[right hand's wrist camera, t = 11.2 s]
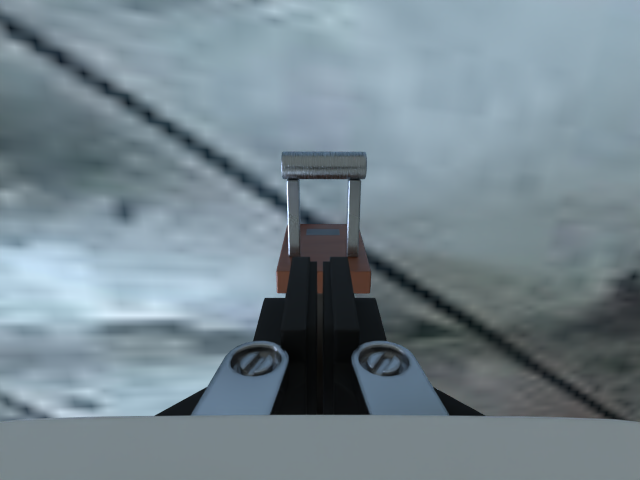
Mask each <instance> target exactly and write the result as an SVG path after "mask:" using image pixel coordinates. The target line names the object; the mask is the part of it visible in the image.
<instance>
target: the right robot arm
mask: <svg viewBox="0 0 640 480" xmlns="http://www.w3.org/2000/svg"><path fill="white" fill-rule="evenodd" d="M0 480H640V422H637V421H627V420H616V419H594V418H566V417H526V416H485V415H483V414H481V413H479V412H478V411H476V410H474V409H472V408H470V407H468V406H467V405H465V404H463V403H461V402H459V401H458V400H456V399H454V398H452V397H450V396H448V395H447V394H445V393H443V392H441V391H439V390H437V389H436V388H434V387H432V385H431V383H430V382H429V380H428V378H427V376H426V375H425V373H424V371H423V370H422V368H421V366H420V365H419V363H418V361H417V360H416V358H415V356H414V355H413V354H412V353H411V352H410V351H409V350H408V349H406V348H405V347H403V346H401V345H399V344H396V343H393V342H388V341H387V340H386V336H385V332H384V328H383V325H382V321H381V317H380V313H379V309H378V305H377V302H376V299H375V298H354V292H353V286H352V279H351V273H350V267H349V261H348V257H330V261H323V415H317V261H310V257H292V261H291V267H290V273H289V279H288V286H287V292H286V298H265V299H264V302H263V305H262V309H261V313H260V317H259V321H258V325H257V328H256V332H255V336H254V340H253V341H252V342H247V343H244V344H241V345H239V346H237V347H235V348H234V349H232V350H231V351H230V352H229V353H228V354H227V355H226V356H225V358H224V360H223V361H222V363H221V365H220V366H219V368H218V370H217V371H216V373H215V375H214V376H213V378H212V380H211V382H210V383H209V385H208V387H206V388H204V389H203V390H201V391H199V392H197V393H195V394H193V395H192V396H190V397H188V398H186V399H184V400H182V401H181V402H179V403H177V404H175V405H173V406H172V407H170V408H168V409H166V410H164V411H162V412H161V413H159V414H157V415H155V416H121V417H74V418H46V419H24V420H13V421H3V422H0Z"/></svg>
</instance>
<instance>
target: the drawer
mask: <svg viewBox="0 0 640 480" xmlns="http://www.w3.org/2000/svg"><path fill="white" fill-rule="evenodd" d="M281 169H282V178H283V179H287V210H288V225H287V229H286V233H285V237H284V241H283V245H282V250H281V254H280V258H279V262H278V267H277V271H276V279H277V293H286V292H287V286H288V279H289V273H290V267H291V261H292V257H310V261H317V415H323V261H330V257H348V261H349V267H350V273H351V279H352V286H353V292H354V293H370V287H371V270H370V266H369V262H368V259H367V255H366V251H365V248H364V244H363V241H362V237H361V233H360V230H359V222H360V196H361V180H360V179H365V178H366V171H367V157H366V152H282V158H281ZM300 179H348V201H347V224H300Z"/></svg>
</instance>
